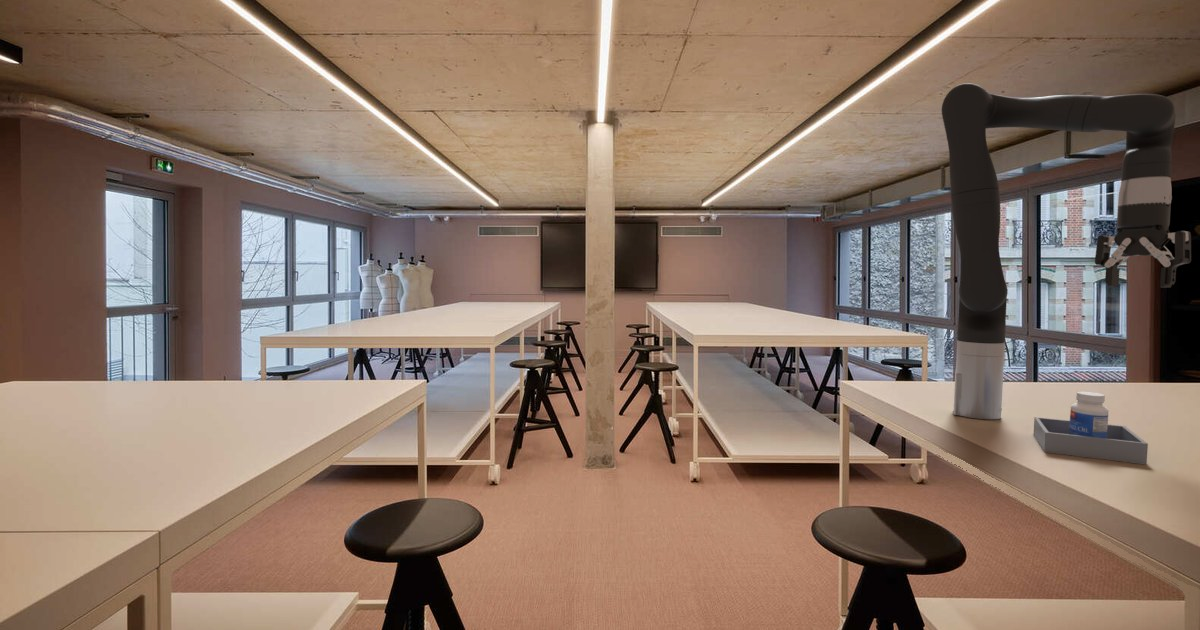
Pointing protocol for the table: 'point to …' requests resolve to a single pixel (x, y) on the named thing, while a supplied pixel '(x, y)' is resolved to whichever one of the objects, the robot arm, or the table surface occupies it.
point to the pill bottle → (1089, 415)
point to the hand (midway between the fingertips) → (1138, 287)
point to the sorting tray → (1090, 442)
